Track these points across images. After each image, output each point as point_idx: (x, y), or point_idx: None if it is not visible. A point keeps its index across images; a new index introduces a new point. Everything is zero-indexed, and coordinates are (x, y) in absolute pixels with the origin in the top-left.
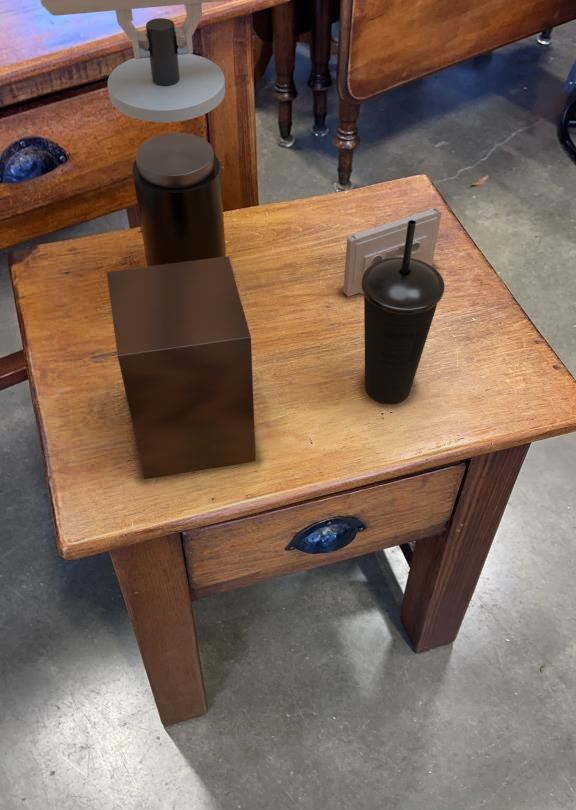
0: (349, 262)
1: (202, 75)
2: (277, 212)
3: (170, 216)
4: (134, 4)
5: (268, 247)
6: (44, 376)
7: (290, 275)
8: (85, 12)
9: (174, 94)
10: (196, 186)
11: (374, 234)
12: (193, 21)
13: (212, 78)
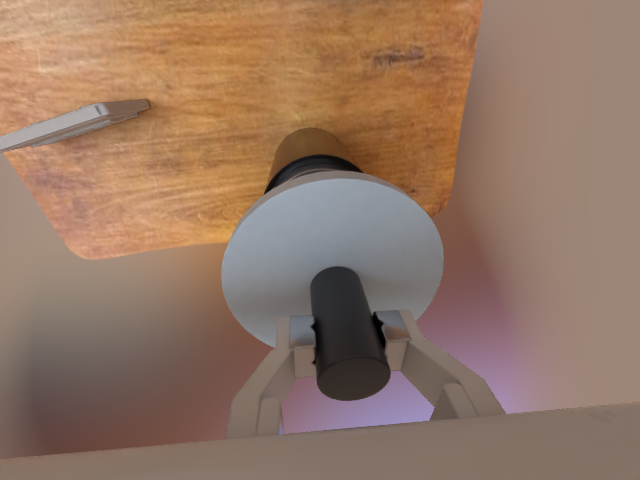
0: (121, 101)
1: (265, 291)
2: (220, 241)
3: (335, 149)
4: (471, 433)
5: (231, 195)
6: (473, 37)
7: (210, 149)
8: (619, 405)
9: (328, 237)
10: (298, 163)
11: (70, 113)
12: (263, 381)
13: (245, 280)
